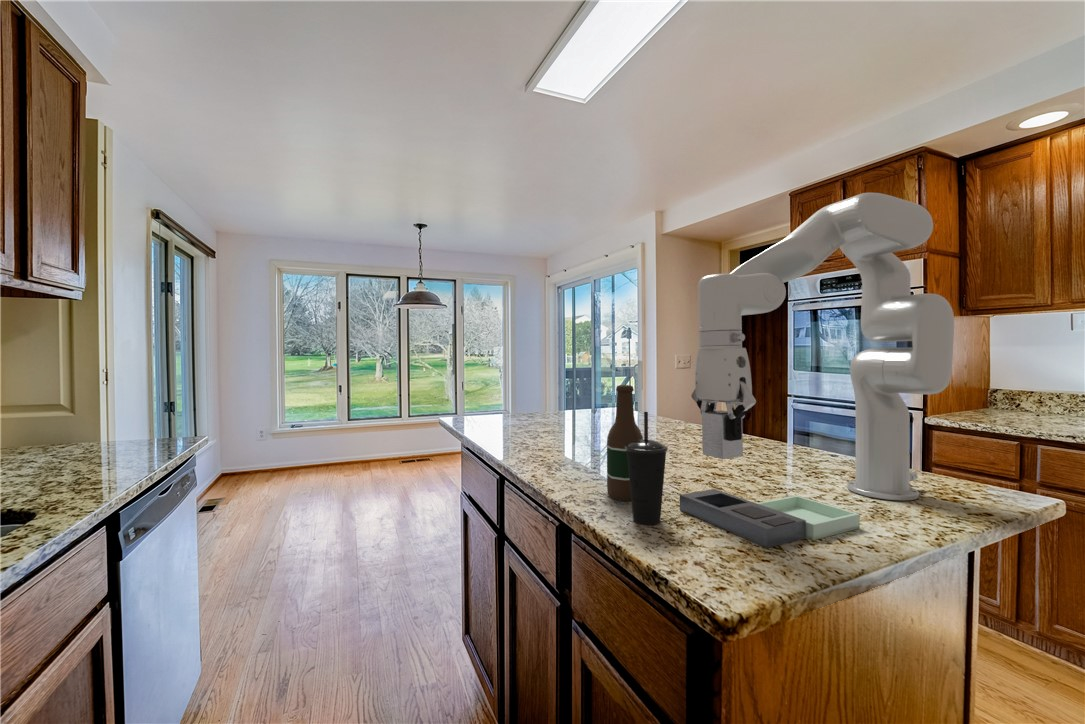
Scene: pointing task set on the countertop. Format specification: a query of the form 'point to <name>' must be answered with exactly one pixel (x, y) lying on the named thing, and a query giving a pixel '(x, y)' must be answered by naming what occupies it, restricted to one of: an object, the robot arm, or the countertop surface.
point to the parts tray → (816, 516)
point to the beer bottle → (621, 445)
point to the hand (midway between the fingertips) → (722, 436)
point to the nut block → (718, 436)
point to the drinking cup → (646, 477)
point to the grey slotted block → (744, 517)
